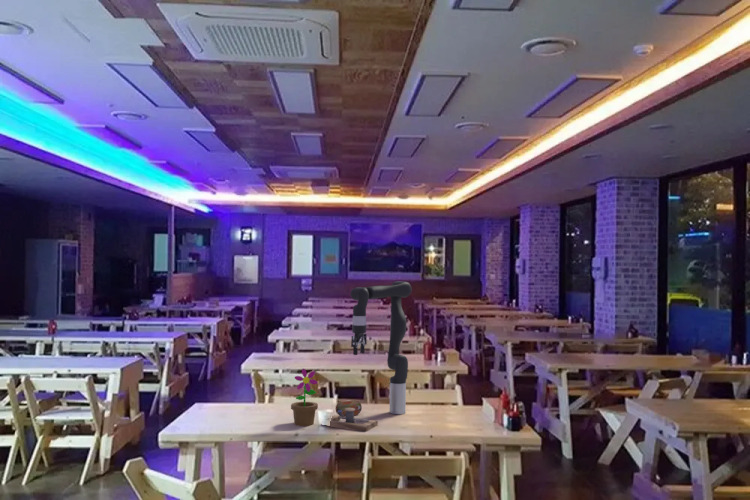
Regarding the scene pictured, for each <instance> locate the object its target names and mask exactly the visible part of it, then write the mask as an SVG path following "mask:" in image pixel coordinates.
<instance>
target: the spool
mask: <svg viewBox="0 0 750 500" xmlns="http://www.w3.org/2000/svg"><path fill="white" fill-rule="evenodd" d="M345 411H346V416H345V417H346V419H345V421H344V422H347V423H354V422H355V421H354V418H355V415H354V411H355V408H345Z"/></svg>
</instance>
